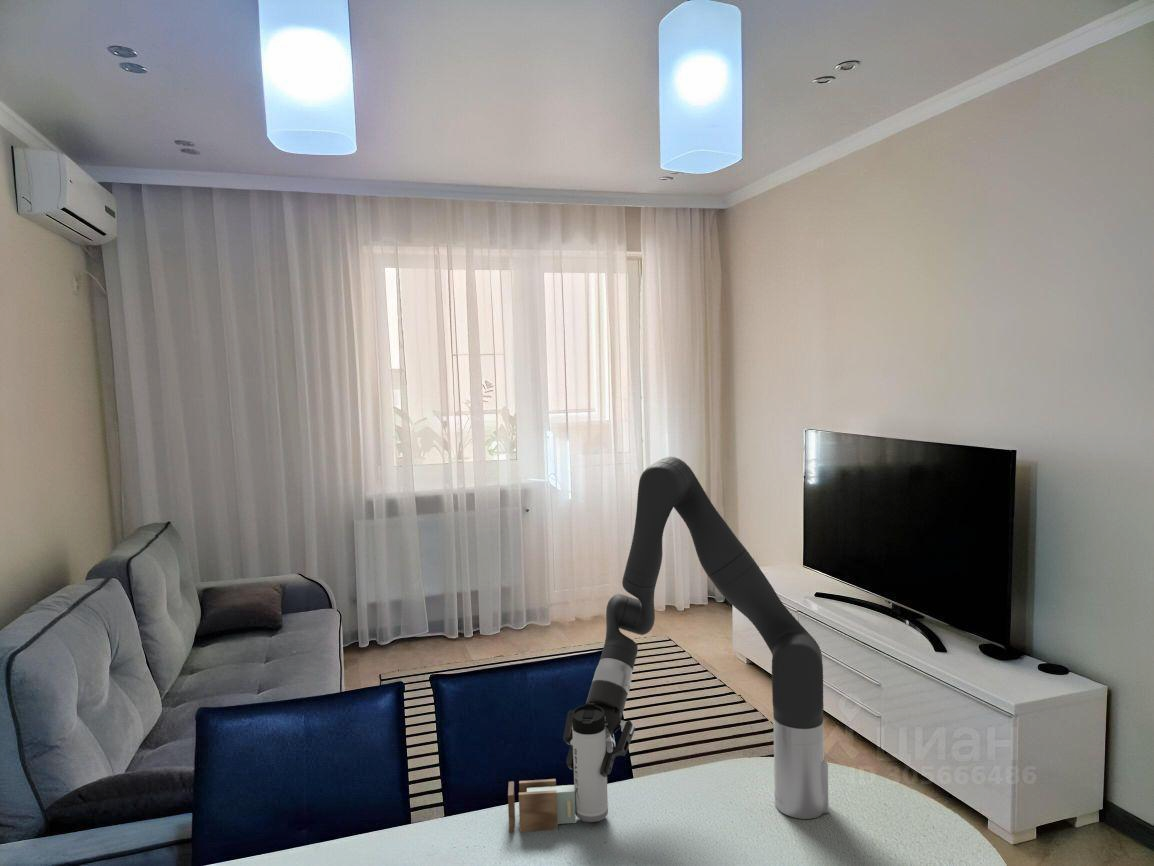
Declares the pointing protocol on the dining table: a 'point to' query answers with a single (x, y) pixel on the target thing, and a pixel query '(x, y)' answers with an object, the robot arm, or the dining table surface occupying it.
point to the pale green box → (562, 802)
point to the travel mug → (589, 762)
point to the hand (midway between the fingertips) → (586, 771)
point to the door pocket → (533, 806)
